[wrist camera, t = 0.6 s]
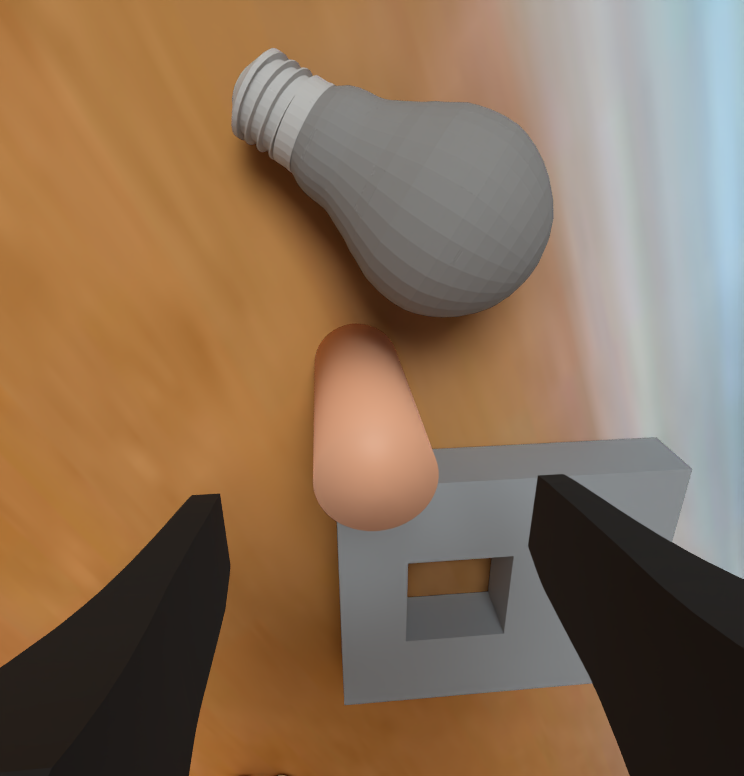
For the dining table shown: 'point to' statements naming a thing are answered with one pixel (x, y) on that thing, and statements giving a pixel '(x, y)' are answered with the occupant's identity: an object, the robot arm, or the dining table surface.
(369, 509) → the peg
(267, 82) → the light bulb
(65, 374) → the dining table surface
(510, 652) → the socket board
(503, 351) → the dining table surface
